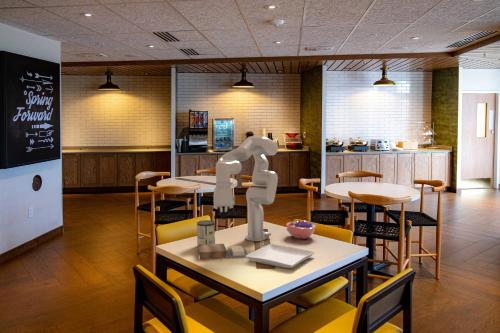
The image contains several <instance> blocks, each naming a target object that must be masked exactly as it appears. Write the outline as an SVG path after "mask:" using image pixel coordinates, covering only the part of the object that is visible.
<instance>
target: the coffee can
mask: <svg viewBox="0 0 500 333" xmlns="http://www.w3.org/2000/svg"><path fill="white" fill-rule="evenodd" d="M215 224H216V222H215V221H213V220H211V219H210V220H199V221H197V222H196V235H197V236H196V237H197V238H196V239H197V240H196V242H197V244H196V245H197V246H196V247H197V248H198V245H204V244H216V230H215V229H216V228H215V226H216V225H215Z"/></svg>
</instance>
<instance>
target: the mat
mask: <svg viewBox="0 0 500 333" xmlns="http://www.w3.org/2000/svg"><path fill="white" fill-rule="evenodd" d="M226 250H227V259H245V258H246V259H248V258H247V257H245V256H246V255H248V254H249V253H248V251H247V250H246V248H243V250H244V256H233V255H232V252H231V248H230V249H226Z"/></svg>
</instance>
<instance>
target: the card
mask: <svg viewBox="0 0 500 333" xmlns="http://www.w3.org/2000/svg"><path fill="white" fill-rule="evenodd" d="M230 249H231V252H232V255H233V256H244V250H243V249H244V248H243V246H242V245H240V246H230Z"/></svg>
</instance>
